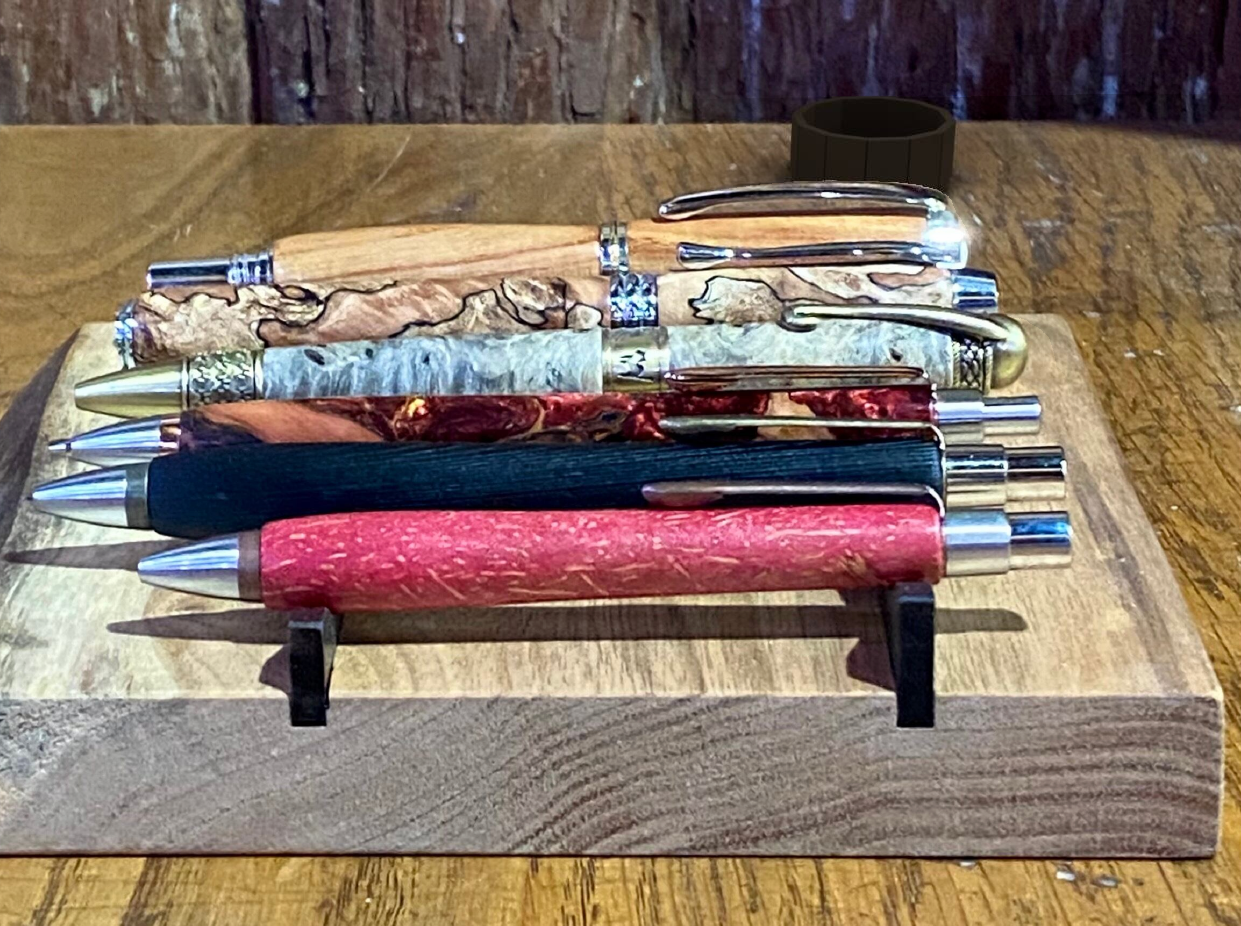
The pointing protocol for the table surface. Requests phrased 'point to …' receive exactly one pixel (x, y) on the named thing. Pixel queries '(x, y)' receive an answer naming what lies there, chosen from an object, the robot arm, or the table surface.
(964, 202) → the table surface
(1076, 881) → the table surface
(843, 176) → the dark faceted ring
